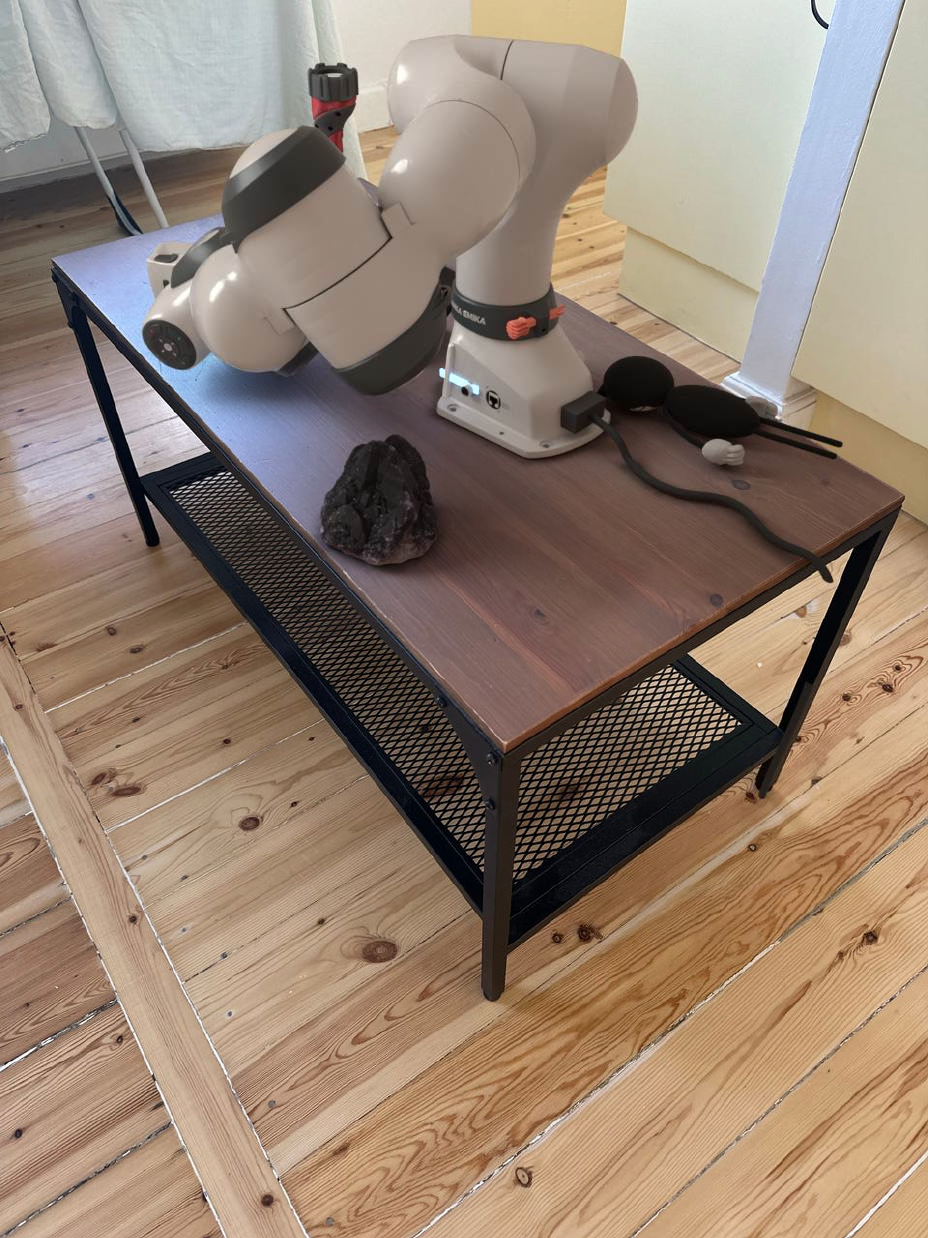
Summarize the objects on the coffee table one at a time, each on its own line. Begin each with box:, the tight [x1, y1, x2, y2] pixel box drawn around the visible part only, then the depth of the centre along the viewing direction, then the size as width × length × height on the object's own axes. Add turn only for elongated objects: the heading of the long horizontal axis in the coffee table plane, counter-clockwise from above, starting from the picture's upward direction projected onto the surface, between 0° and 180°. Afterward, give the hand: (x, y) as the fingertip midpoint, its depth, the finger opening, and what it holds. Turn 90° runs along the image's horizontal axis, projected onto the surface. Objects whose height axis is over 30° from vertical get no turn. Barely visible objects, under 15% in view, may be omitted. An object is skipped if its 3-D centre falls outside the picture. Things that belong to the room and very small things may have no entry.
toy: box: [595, 355, 844, 466], centre depth 110 cm, size 13×8×30 cm
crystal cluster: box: [319, 433, 439, 566], centre depth 95 cm, size 13×14×10 cm
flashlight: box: [307, 61, 360, 154], centre depth 147 cm, size 8×8×23 cm
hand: (246, 243), depth 131 cm, fingers open, 8 cm apart
